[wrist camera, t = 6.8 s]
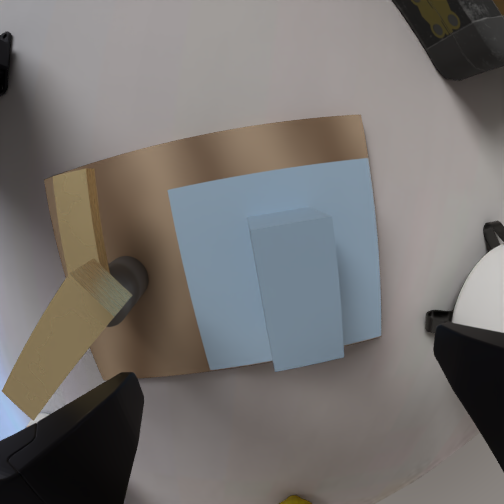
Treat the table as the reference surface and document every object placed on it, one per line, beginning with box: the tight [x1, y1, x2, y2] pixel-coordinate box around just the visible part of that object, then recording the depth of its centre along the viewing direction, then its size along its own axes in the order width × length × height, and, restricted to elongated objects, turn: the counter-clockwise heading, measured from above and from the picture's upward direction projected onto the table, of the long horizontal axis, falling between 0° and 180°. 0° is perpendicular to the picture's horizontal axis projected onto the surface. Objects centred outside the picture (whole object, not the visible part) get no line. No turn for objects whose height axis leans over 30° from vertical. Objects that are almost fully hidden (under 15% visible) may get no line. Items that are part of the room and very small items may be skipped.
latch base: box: [44, 115, 381, 380], centre depth 18 cm, size 22×16×6 cm
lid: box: [168, 158, 381, 372], centre depth 15 cm, size 10×10×6 cm
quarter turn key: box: [2, 168, 132, 421], centre depth 12 cm, size 10×7×6 cm
